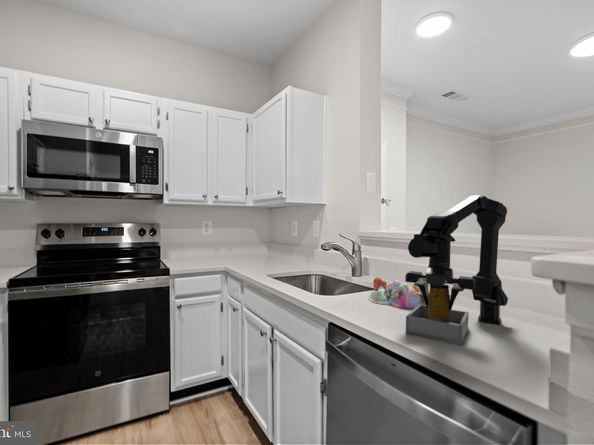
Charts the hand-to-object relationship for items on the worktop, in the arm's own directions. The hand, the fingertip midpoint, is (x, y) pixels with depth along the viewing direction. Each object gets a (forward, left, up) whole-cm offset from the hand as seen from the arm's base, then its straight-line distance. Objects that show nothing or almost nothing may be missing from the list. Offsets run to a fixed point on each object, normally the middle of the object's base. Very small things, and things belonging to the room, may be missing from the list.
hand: (438, 308), depth 94 cm
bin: (0, 0, -7) cm, 7 cm away
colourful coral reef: (-29, -20, -7) cm, 36 cm away
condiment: (0, +1, -5) cm, 5 cm away
